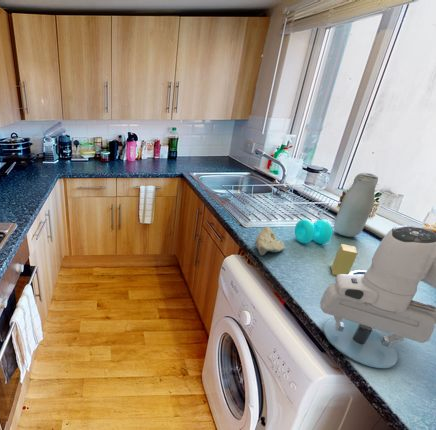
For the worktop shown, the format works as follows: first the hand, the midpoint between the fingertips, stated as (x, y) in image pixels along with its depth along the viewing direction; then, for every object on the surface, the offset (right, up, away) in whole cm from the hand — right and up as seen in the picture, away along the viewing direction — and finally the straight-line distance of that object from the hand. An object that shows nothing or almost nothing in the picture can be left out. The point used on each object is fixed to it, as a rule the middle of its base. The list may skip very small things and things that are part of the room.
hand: (360, 336), depth 71 cm
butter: (+17, +10, +29) cm, 35 cm away
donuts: (+20, +19, +48) cm, 56 cm away
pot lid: (0, -2, +1) cm, 2 cm away
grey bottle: (+40, +22, +55) cm, 71 cm away
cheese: (-3, +15, +39) cm, 42 cm away
